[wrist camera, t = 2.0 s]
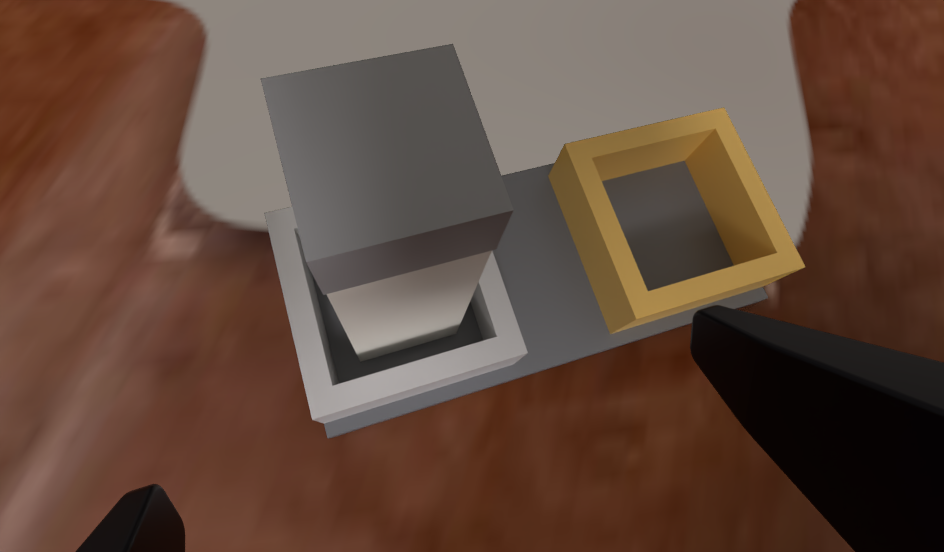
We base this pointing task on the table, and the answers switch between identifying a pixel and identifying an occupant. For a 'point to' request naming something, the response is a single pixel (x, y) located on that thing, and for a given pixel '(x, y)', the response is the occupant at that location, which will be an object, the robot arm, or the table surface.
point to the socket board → (563, 270)
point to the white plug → (390, 192)
